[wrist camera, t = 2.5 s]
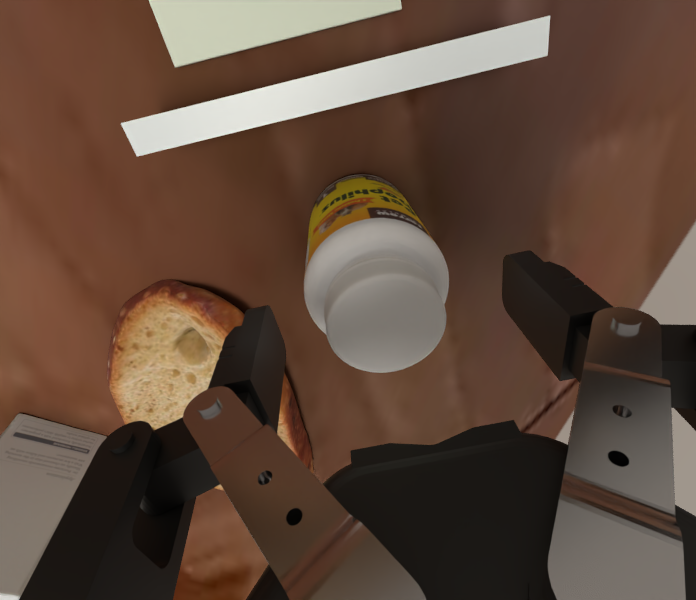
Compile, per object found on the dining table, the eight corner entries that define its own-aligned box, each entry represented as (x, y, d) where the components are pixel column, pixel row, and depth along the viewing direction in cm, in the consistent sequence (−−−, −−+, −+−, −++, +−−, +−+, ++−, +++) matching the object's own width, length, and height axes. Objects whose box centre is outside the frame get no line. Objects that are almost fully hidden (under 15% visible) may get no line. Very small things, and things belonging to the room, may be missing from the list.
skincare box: (85, 506, 33) (-4, 668, 24) (1, 488, 30) (-131, 659, 22) (114, 436, 28) (19, 603, 19) (19, 409, 26) (-138, 583, 17)
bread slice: (296, 491, 34) (294, 534, 31) (86, 441, 29) (57, 486, 26) (400, 357, 26) (411, 395, 23) (139, 254, 21) (106, 285, 18)
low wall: (501, 59, 17) (547, 55, 13) (171, 141, 18) (136, 156, 14) (501, 28, 16) (550, 15, 13) (160, 114, 17) (120, 123, 14)
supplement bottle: (411, 169, 19) (488, 245, 10) (404, 265, 22) (459, 387, 13) (305, 172, 19) (293, 253, 10) (311, 268, 22) (306, 396, 13)
